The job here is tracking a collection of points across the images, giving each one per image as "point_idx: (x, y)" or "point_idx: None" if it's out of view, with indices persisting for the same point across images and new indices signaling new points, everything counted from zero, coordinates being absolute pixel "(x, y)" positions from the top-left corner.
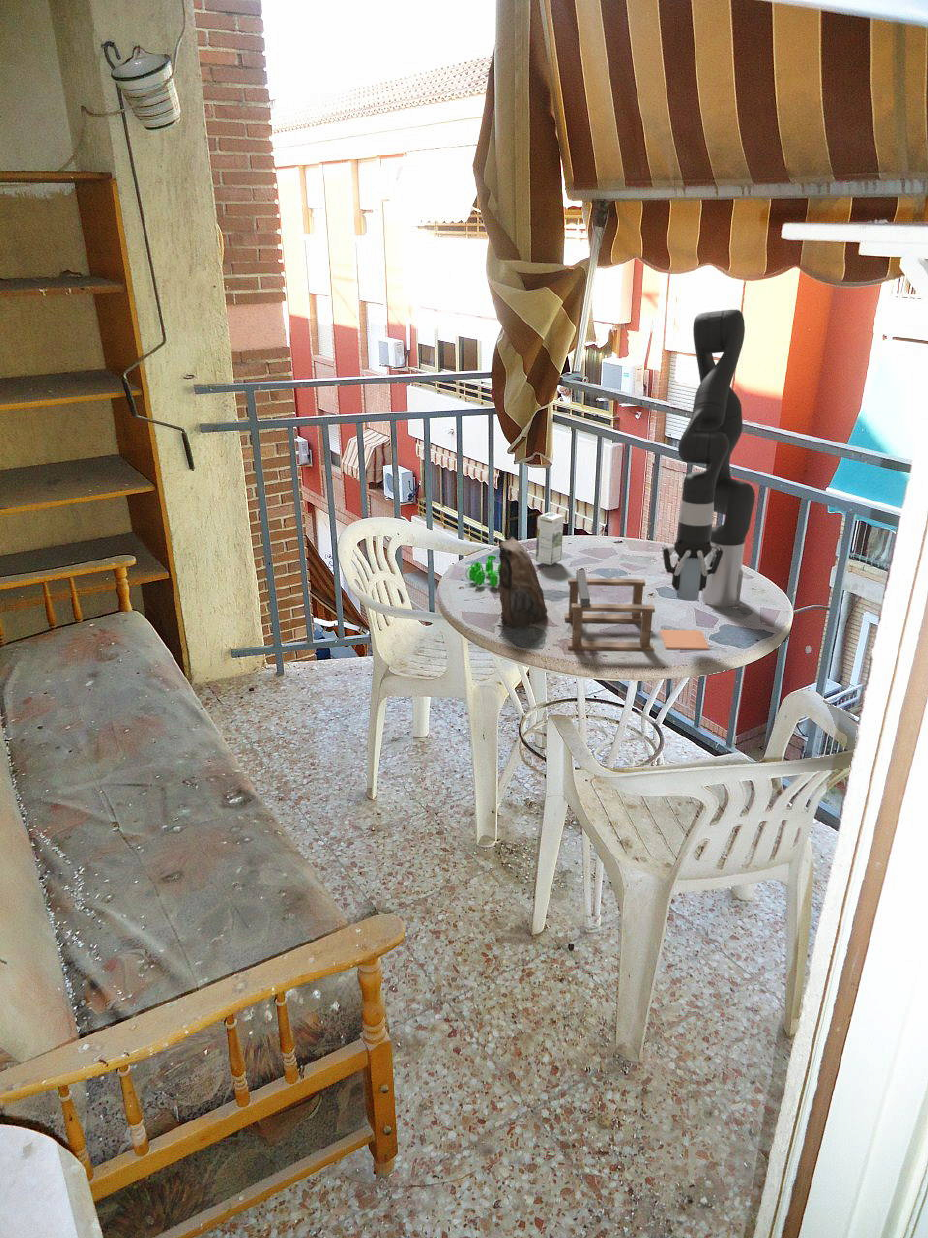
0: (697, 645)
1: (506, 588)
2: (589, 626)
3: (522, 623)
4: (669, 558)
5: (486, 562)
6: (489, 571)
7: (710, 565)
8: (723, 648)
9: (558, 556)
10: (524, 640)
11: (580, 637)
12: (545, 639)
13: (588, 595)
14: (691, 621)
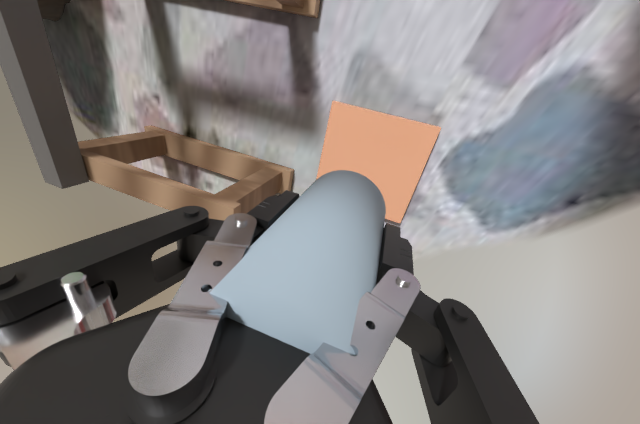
0: None
1: None
2: (184, 28)
3: (53, 9)
4: (123, 311)
5: None
6: None
7: (445, 337)
8: (441, 217)
9: None
10: (85, 90)
11: (150, 156)
12: (115, 92)
13: (53, 164)
14: (471, 21)
